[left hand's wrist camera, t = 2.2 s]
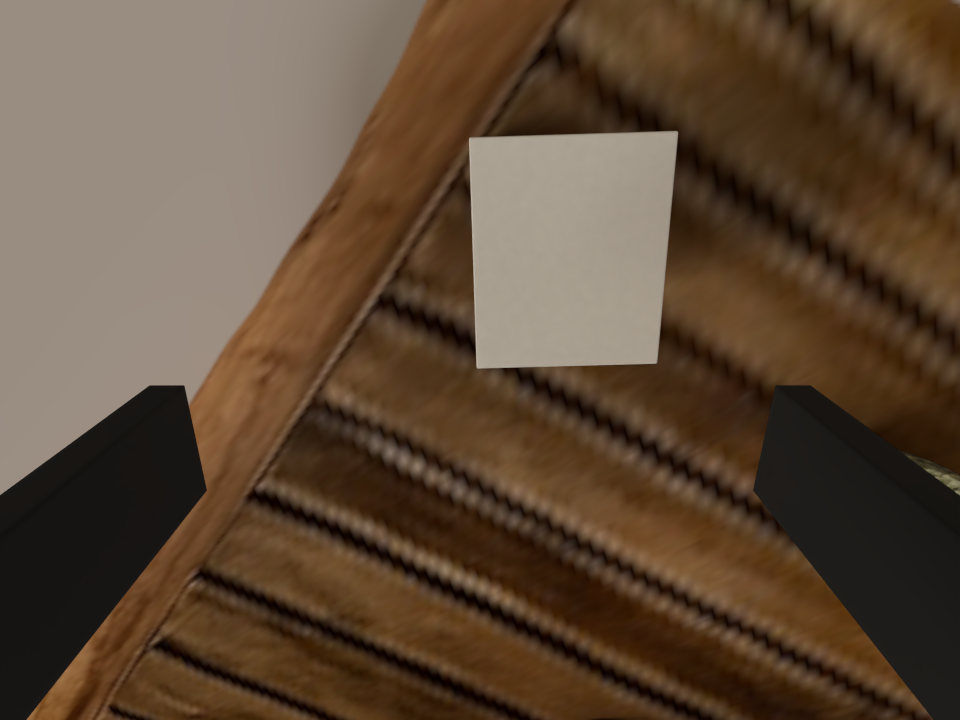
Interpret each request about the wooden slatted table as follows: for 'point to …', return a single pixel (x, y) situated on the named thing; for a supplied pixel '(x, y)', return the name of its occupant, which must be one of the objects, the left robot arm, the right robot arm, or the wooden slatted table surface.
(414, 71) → the wooden slatted table surface
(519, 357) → the block
